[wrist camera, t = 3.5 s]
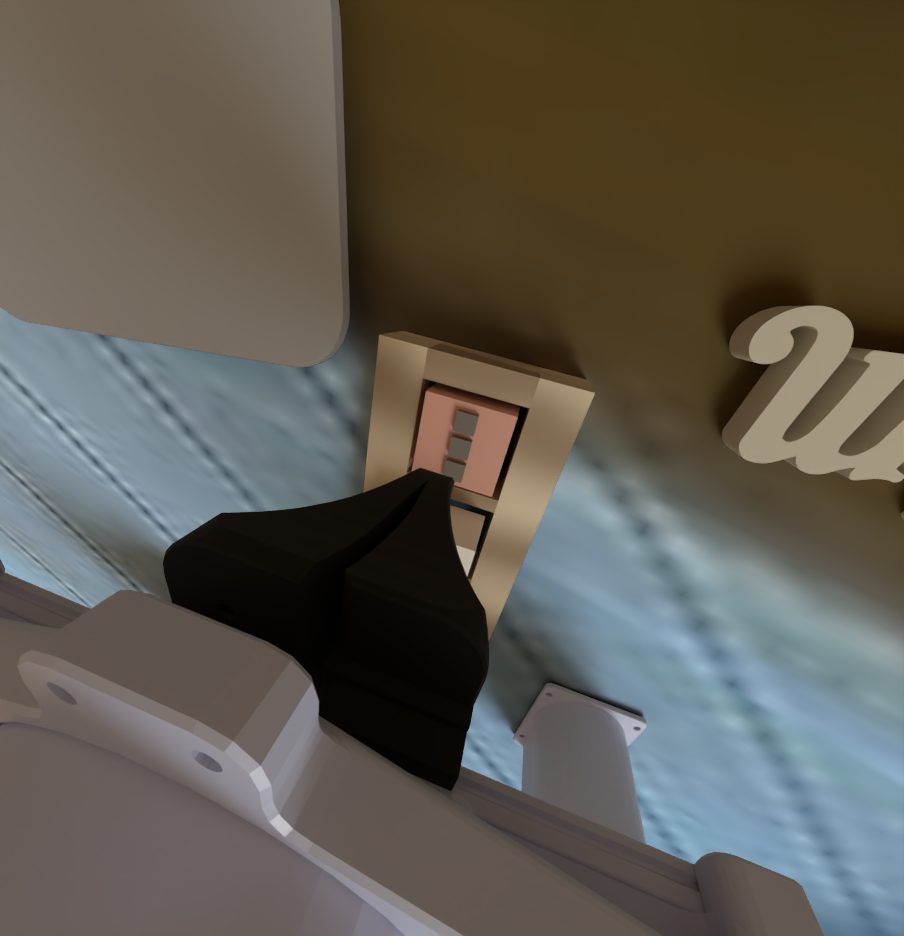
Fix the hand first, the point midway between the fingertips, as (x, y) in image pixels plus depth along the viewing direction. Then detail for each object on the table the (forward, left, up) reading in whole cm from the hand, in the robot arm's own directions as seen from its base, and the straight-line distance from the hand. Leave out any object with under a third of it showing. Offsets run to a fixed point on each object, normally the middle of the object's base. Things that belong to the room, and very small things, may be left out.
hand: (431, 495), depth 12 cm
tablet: (+8, +21, -9) cm, 24 cm away
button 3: (0, 0, -8) cm, 8 cm away
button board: (-6, 0, -8) cm, 10 cm away
